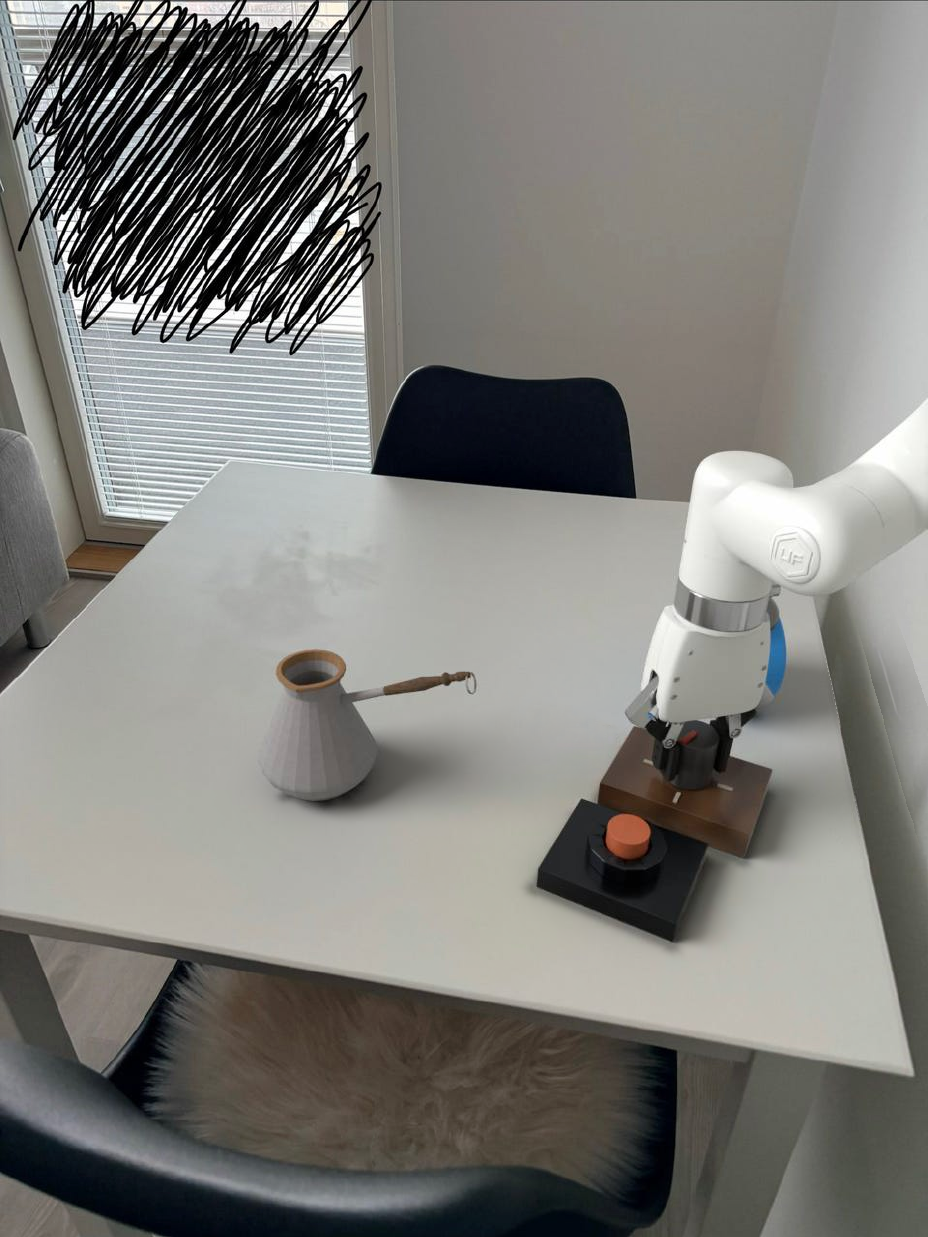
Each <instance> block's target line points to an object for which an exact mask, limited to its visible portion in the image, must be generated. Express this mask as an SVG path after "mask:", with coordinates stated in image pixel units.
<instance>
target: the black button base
mask: <svg viewBox="0 0 928 1237" xmlns="http://www.w3.org/2000/svg"><path fill="white" fill-rule="evenodd" d="M621 814H624V813H621V812H619V811H616V810H613V809H610V808H607V807H605V806H602V805H599V804H597V802H596V803H595V802H593V801H590V800H587V799H584V798H583V797H582V798H580V800H579V802H578V803H577V804H576V806H575V808H574V809H573V810H572V812H571V813H570V816H569V817H568V818H567V820H566V822H565V824H564V826H563V827H562V829H561V830H560V832H559V834H558V835H557V837H556V839H555V840H554V842H553V843H552V845H551V847H550V848H549V850H548V851H547V853H546V855H545V856H544V858H543V860H542V862H541V863H540V865H539V866H538V868H537V875H536V888H539V889H541V890H542V891H543V890H544V891H546V892H548V893H551V894H553V895H555V896H558V897H561V898H563V899H565V900H567V901H571V902H573V903H575V904H577V905H580V906H583V907H584V908H587V909H590V910H592V911H594V912H597V913H599V914H602V915H604V916H608V917H610V918H612V919H614V920H617V921H620V922H622V923H624V924H627V925H628V926H629V925H630V926H632V927H634V928H636V929H639V930H640V931H641V930H642V931H644V932H645V933H649V934H651V935H654V936H656V937H657V938H661V939H663V940H666V941H667V942H671V943H673V942H674V940H675V939H676V938H675V937H676V935H677V933H678V930H679V927H680V925H681V923H682V920H683V918H684V915H685V912H686V910H687V908H688V905H689V902H690V900H691V897H692V894H693V892H694V889H695V887H696V884H697V882H698V880H699V877H700V875H701V873H702V870H703V867H704V865H705V862H706V858H707V854H708V849H709V846H708V845H709V844H708V843H705V842H703V841H700V840H697V839H694V838H691V837H689V836H686V835H683V834H680V833H677V832H675V831H672V830H669V829H666V828H663V827H661V826H658V825H655V824H652V823H651V822H650V821H648V820H645V819H643V818H641V819H643V820H644V821H645V822H646V823H647V824H648V826H649V828H650V831H651V833H650V839H649V845H648V850H647V852H646V853H645V855H643V856H642V857H640V858H637V859H624V858H622V857H619V856H616V855H614V854H613V853H612V852H610V850H609V849H608V848H607V846H606V834H607V826H608V823H609V821H610V820H611V819H612V818H613V817H615V816H617V815H621ZM630 815H631V814H630ZM639 818H640V817H639Z"/></svg>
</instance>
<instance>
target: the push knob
mask: <svg viewBox="0 0 928 1237" xmlns="http://www.w3.org/2000/svg"><path fill="white" fill-rule="evenodd" d="M650 833H651V831H650V828H649V826H648V824H647V823H646V822H645V821H644V820H643V819H641V818H639V817H637V816H634V815H630V814H621V815H617V816H615V817H613V818H612V819H611V820H610V821H609V823H608V826H607V834H606V846H607V848H608V849H609V850H610V852H612V853H613V854H614V855H616V856H619V857H622V858H624V859H637V858H640V857H642V856H643V855H645V853H646V852H647V850H648V845H649V839H650Z"/></svg>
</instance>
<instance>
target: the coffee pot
mask: <svg viewBox="0 0 928 1237" xmlns="http://www.w3.org/2000/svg"><path fill="white" fill-rule="evenodd" d="M346 672H347V664H346V662H345V660H344V658H343V657H341V656H340V655H339V654H337V653H335V652H333V651H330V650H326V649H318V648H317V649H316V648H315V649H305V650H300V651H296V652H293V653H291V654H289V655H287V656H285V657H284V658H283V659H282V660H280V661H279V662H278V664H277V666H276V667H275V675H276V678H277V680H278V682H279V683H280V684H282V686H283V687H284V689H283V691H282V693H281V696H280V698H279V701H278V702H277V706H276V708H275V710H274V713H273V715H272V718H271V721H270V723H269V725H268V728H267V730H266V734H265V737H264V738H263V741H262V743H261V745H260V748H259V752H258V753H259V754H258V764H259V768H260V770H261V773H262V775H263V776H264V777H265V779H266V780H267V781H268V782H269V783H270V784H271V786H273V787H274V788H275V789H277V790H279V791H280V792H282V793H284V794H286V795H287V796H290V797H294V798H297V799H300V800H303V801H312V802H320V801H327V800H328V801H329V800H332V799H336V798H337V797H338V798H339V797H340V796H342V795H344V794H346V793H347V792H349V791H351V790H352V789H353V788H355V787H356V786H358V785H359V784H360V783H361V782H363V781H364V780H365V779H366V777H367V776H368V775H369V773H371V771H372V768H373V767H374V764H375V761H376V758H377V756H378V749H377V748H378V747H377V742H376V739H375V737H374V735H373V733H372V732H371V730H370V728H369V727H368V725H367V723H366V722H365V720H364V718H363V717H362V715H361V714H360V712H359V711H358V709H357V707H356V706H355V705H354V703H356V702H360V701H361V702H362V701H365V700H371V699H375V698H379V697H383V696H386V697H387V696H395V695H402V694H411V693H418V692H424V691H425V692H426V691H427V690H430V689H433V688H435V687H439V686H441V685H443V686H444V687H449V686H450V685H451V684H452V683H454V682H458V683H461V682H463V681H465V682H464V684H465V689H466V691H467V693H468V695H474V694H475V693H476V692H477V679H476V676H475V674H474V672H473V671H472V672H471V671H456V672H455V673H449V672H443V673H442V674H441V676H440V675H434V676H419V677H416V678H412V679H407V680H404V681H400V682H396V683H393V684H388V685H384V686H383V687H378V688H377V687H376V688H371V689H366V690H359V691H358V690H357V691H352V692H348V693H347V691H346V689H345V688H344V686H343V685H342V683H341V682H342V679H343V678H344V676H345V675H346ZM471 677H472V679H473V691H472V692H471V690H470V688H469V684H468V681H469V680H468V679H471Z"/></svg>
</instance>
